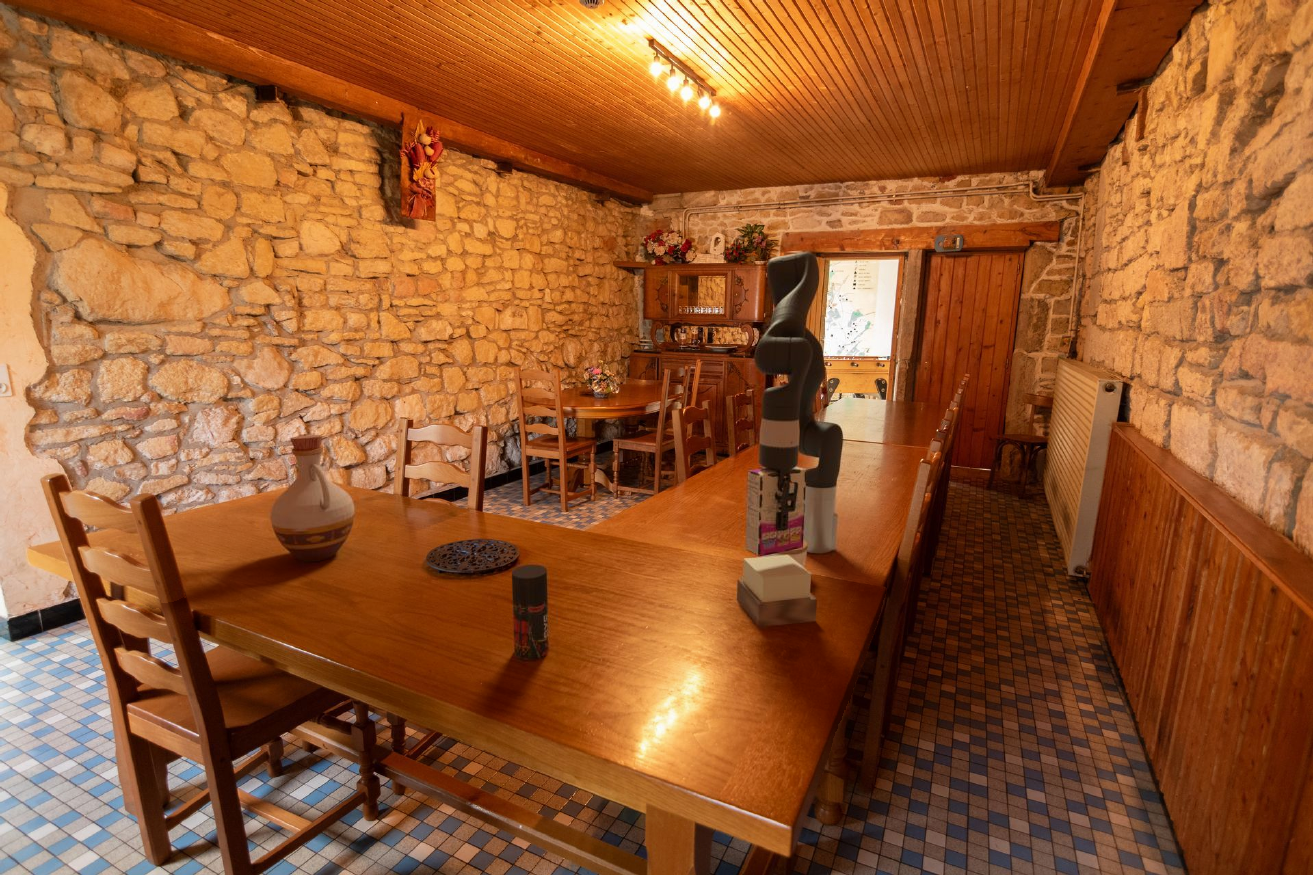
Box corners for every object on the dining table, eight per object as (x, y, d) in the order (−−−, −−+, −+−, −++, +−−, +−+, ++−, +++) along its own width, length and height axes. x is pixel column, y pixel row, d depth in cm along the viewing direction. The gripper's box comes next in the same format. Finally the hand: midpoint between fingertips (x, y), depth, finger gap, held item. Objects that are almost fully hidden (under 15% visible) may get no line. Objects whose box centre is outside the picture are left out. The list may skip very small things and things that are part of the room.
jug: (372, 557, 150) (363, 436, 145) (291, 578, 137) (278, 447, 132) (341, 537, 163) (332, 426, 158) (265, 555, 150) (251, 435, 145)
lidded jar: (754, 578, 141) (756, 539, 139) (764, 561, 150) (766, 525, 149) (802, 585, 137) (804, 545, 135) (809, 568, 147) (811, 530, 145)
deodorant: (516, 643, 111) (514, 564, 108) (550, 642, 111) (548, 564, 109) (512, 661, 105) (509, 578, 102) (547, 659, 105) (545, 577, 103)
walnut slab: (789, 596, 132) (790, 574, 131) (815, 622, 121) (817, 599, 120) (736, 601, 130) (737, 579, 129) (758, 628, 118) (759, 604, 117)
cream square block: (787, 577, 130) (788, 554, 129) (809, 597, 120) (811, 573, 119) (742, 581, 127) (743, 558, 127) (762, 602, 118) (763, 577, 117)
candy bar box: (787, 540, 127) (791, 463, 124) (803, 548, 123) (808, 469, 120) (743, 549, 122) (746, 469, 119) (758, 557, 118) (762, 474, 115)
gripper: (814, 448, 113) (808, 536, 116) (782, 434, 126) (778, 513, 130) (775, 449, 111) (771, 538, 114) (747, 435, 125) (744, 515, 128)
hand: (775, 524), depth 122 cm, fingers closed on candy bar box, 5 cm apart
